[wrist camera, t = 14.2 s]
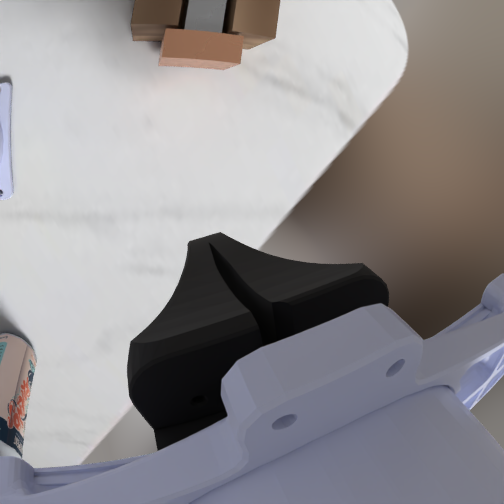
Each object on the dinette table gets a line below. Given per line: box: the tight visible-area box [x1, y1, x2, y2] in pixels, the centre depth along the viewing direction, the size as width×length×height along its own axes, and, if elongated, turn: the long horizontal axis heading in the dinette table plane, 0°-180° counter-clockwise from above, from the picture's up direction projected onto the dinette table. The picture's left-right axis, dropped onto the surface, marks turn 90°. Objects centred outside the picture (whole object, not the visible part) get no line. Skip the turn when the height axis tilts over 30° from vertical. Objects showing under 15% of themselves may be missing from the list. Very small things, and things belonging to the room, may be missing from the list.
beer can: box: [0, 333, 37, 459], centre depth 16 cm, size 5×5×12 cm
